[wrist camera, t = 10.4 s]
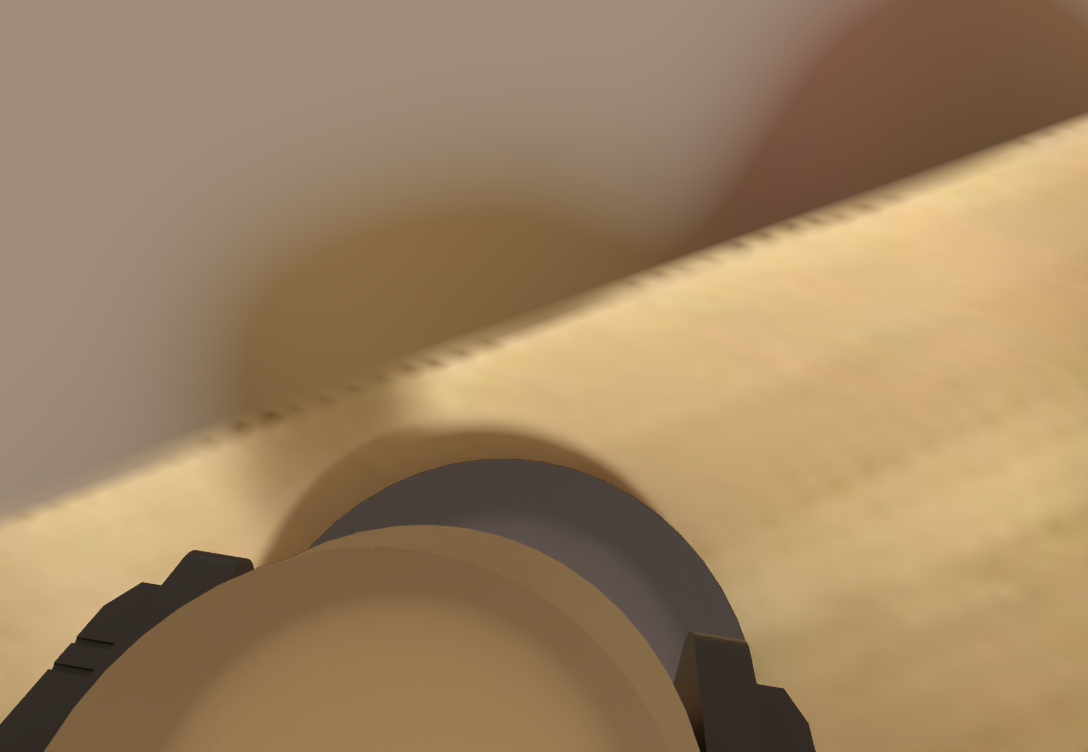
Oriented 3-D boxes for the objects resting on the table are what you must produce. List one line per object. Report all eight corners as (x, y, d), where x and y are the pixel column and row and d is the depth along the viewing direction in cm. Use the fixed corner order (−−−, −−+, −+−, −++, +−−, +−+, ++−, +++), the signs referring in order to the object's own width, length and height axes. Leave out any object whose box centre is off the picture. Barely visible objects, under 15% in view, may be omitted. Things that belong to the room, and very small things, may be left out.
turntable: (724, 1056, 21) (740, 1085, 19) (183, 955, 21) (160, 975, 20) (764, 511, 26) (779, 501, 24) (322, 436, 26) (310, 422, 24)
